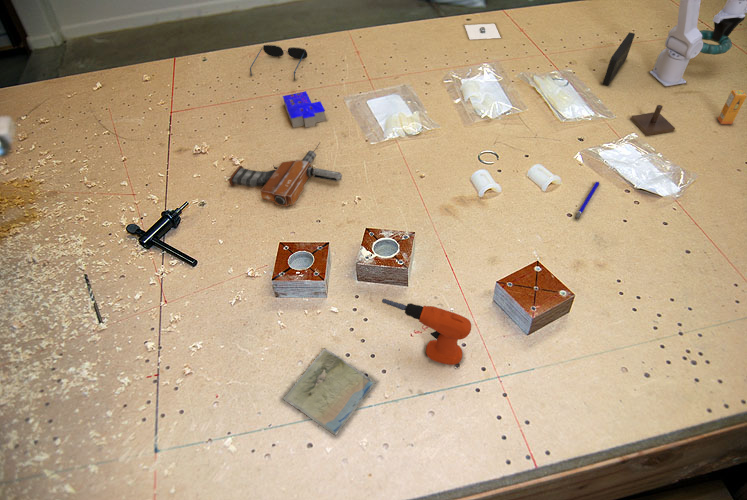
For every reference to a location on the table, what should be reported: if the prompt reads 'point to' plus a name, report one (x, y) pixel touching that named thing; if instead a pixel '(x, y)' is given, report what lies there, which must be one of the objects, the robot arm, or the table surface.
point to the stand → (652, 122)
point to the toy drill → (439, 330)
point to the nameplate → (618, 58)
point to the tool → (283, 179)
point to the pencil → (587, 200)
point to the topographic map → (329, 391)
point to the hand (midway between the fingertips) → (719, 38)
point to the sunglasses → (278, 52)
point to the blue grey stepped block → (303, 110)
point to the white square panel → (482, 31)
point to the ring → (715, 49)
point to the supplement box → (732, 106)
